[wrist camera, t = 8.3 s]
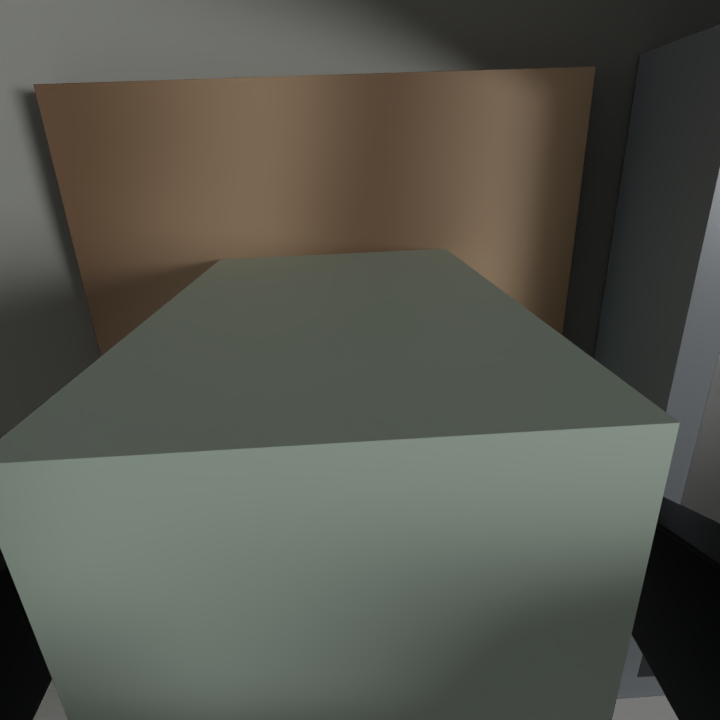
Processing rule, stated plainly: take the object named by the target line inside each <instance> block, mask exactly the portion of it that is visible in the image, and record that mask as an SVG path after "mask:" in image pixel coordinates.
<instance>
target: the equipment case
mask: <svg viewBox="0 0 720 720" xmlns="http://www.w3.org/2000/svg"><path fill="white" fill-rule="evenodd" d="M719 350H720V24H719V25H716V26H713V27H711V28H708V29H705V30H703V31H700V32H697V33H695V34H692V35H689V36H686V37H684V38H681V39H678V40H676V41H673V42H670V43H667V44H665V45H662V46H659V47H657V48H654V49H651V50H649V51H646V52H643V53H640V57H639V64H638V71H637V77H636V84H635V90H634V97H633V103H632V110H631V117H630V123H629V130H628V136H627V143H626V150H625V156H624V163H623V169H622V176H621V182H620V189H619V196H618V202H617V209H616V215H615V222H614V228H613V235H612V242H611V248H610V255H609V261H608V268H607V275H606V281H605V288H604V294H603V301H602V307H601V314H600V321H599V327H598V334H597V340H596V347H595V353H594V359H595V360H596V361H598V362H599V363H600V364H602V365H603V366H604V367H606V368H607V369H608V370H610V371H611V372H612V373H614V374H615V375H616V376H618V377H619V378H620V379H622V380H623V381H624V382H626V383H627V384H628V385H630V386H631V387H633V388H634V389H635V390H637V391H638V392H639V393H641V394H642V395H643V396H645V397H646V398H647V399H649V400H650V401H651V402H653V403H654V404H655V405H657V406H658V407H659V408H661V409H662V410H663V411H665V412H666V413H667V414H669V415H670V416H672V417H673V418H674V419H676V420H677V421H678V422H680V424H679V429H678V433H677V438H676V442H675V446H674V451H673V455H672V459H671V464H670V468H669V472H668V477H667V481H666V486H665V490H664V494H663V497H666V498H668V499H670V500H672V501H674V502H676V503H678V504H681V500H682V496H683V492H684V488H685V484H686V480H687V476H688V472H689V468H690V465H691V461H692V457H693V453H694V449H695V445H696V441H697V437H698V433H699V429H700V425H701V421H702V417H703V413H704V409H705V405H706V401H707V397H708V393H709V389H710V385H711V381H712V377H713V373H714V369H715V365H716V361H717V357H718V354H719ZM663 695H665V694H664V692H663V690H662V689H661V687H660V685H659V683H658V681H657V680H656V678H655V676H654V674H653V672H652V671H651V669H650V667H649V665H648V663H647V662H646V660H645V658H644V656H643V654H642V653H641V651H640V649H639V647H638V645H637V644H636V642H635V640H634V638H633V636H632V635H631V638H630V643H629V647H628V651H627V656H626V660H625V665H624V669H623V673H622V678H621V682H620V686H619V691H618V695H617V699H622V698H636V697H649V696H663Z"/></svg>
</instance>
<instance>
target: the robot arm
mask: <svg viewBox="0 0 720 720" xmlns="http://www.w3.org/2000/svg"><path fill="white" fill-rule="evenodd" d="M631 635H632V636H633V638H634V640H635V642H636V644H637V645H638V647H639V649H640V651H641V653H642V654H643V656H644V658H645V660H646V662H647V663H648V665H649V667H650V669H651V671H652V672H653V674H654V676H655V678H656V680H657V681H658V683H659V685H660V687H661V689H662V690H663V692H664V694H665V696H666V698H667V699H668V701H669V703H670V705H671V707H672V708H673V710H674V712H675V714H676V716H677V717H678V719H679V720H720V523H717V522H715V521H713V520H711V519H709V518H707V517H705V516H703V515H701V514H699V513H697V512H695V511H693V510H690V509H688V508H686V507H684V506H682V505H680V504H678V503H676V502H674V501H672V500H670V499H668V498H666V497H663V499H662V503H661V507H660V512H659V516H658V520H657V525H656V529H655V534H654V538H653V542H652V547H651V551H650V555H649V560H648V564H647V568H646V573H645V577H644V582H643V586H642V590H641V595H640V599H639V603H638V608H637V612H636V616H635V621H634V625H633V630H632V634H631ZM51 680H52V677H51V675H50V672H49V670H48V667H47V665H46V662H45V660H44V657H43V655H42V652H41V649H40V647H39V644H38V642H37V639H36V637H35V634H34V632H33V629H32V627H31V624H30V622H29V619H28V617H27V614H26V612H25V609H24V607H23V604H22V601H21V599H20V596H19V594H18V591H17V589H16V586H15V584H14V581H13V579H12V576H11V574H10V571H9V569H8V566H7V564H6V561H5V559H4V556H3V553H2V551H1V548H0V720H33V718H34V716H35V714H36V712H37V710H38V708H39V705H40V703H41V701H42V699H43V697H44V695H45V693H46V691H47V688H48V686H49V684H50V682H51Z"/></svg>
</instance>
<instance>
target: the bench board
mask: <svg viewBox="0 0 720 720" xmlns="http://www.w3.org/2000/svg"><path fill="white" fill-rule="evenodd" d="M595 69H596V66H595V67H564V68H532V69H501V70H470V71H439V72H407V73H376V74H345V75H313V76H282V77H251V78H219V79H188V80H157V81H126V82H94V83H63V84H33V85H34V89H35V93H36V97H37V101H38V105H39V109H40V113H41V117H42V121H43V125H44V129H45V133H46V137H47V141H48V145H49V149H50V153H51V157H52V162H53V166H54V170H55V174H56V178H57V182H58V186H59V190H60V194H61V198H62V202H63V206H64V210H65V214H66V218H67V222H68V226H69V230H70V234H71V238H72V242H73V246H74V250H75V254H76V258H77V262H78V266H79V270H80V275H81V279H82V283H83V287H84V291H85V295H86V299H87V303H88V307H89V311H90V315H91V319H92V323H93V327H94V331H95V335H96V339H97V343H98V347H99V351H100V355H101V356H102V355H104V354H105V353H106V352H107V351H109V350H110V349H111V348H112V347H113V346H115V345H116V344H117V343H118V342H120V341H121V340H122V339H123V338H124V337H126V336H127V335H128V334H129V333H131V332H132V331H133V330H134V329H136V328H137V327H138V326H139V325H140V324H142V323H143V322H144V321H145V320H147V319H148V318H149V317H150V316H152V315H153V314H154V313H155V312H156V311H158V310H159V309H160V308H161V307H163V306H164V305H165V304H166V303H168V302H169V301H170V300H171V299H172V298H174V297H175V296H176V295H177V294H179V293H180V292H181V291H182V290H183V289H185V288H186V287H187V286H188V285H190V284H191V283H192V282H193V281H195V280H196V279H197V278H198V277H199V276H201V275H202V274H203V273H204V272H206V271H207V270H208V269H209V268H211V267H212V266H213V265H214V264H215V263H217V262H218V261H219V260H220V259H240V258H261V257H281V256H302V255H323V254H344V253H364V252H385V251H406V250H427V249H447V250H448V251H449V252H451V253H452V254H453V255H455V256H456V257H458V258H459V259H460V260H462V261H463V262H464V263H466V264H467V265H468V266H470V267H471V268H472V269H474V270H475V271H476V272H478V273H479V274H480V275H482V276H483V277H484V278H486V279H487V280H488V281H490V282H491V283H493V284H494V285H495V286H497V287H498V288H499V289H501V290H502V291H503V292H505V293H506V294H507V295H509V296H510V297H511V298H513V299H514V300H515V301H517V302H518V303H519V304H521V305H522V306H523V307H525V308H526V309H528V310H529V311H530V312H532V313H533V314H534V315H536V316H537V317H538V318H540V319H541V320H542V321H544V322H545V323H546V324H548V325H549V326H550V327H552V328H553V329H554V330H556V331H557V332H558V333H560V334H561V335H563V327H564V319H565V311H566V303H567V295H568V287H569V279H570V270H571V262H572V254H573V246H574V238H575V230H576V222H577V214H578V206H579V198H580V190H581V182H582V174H583V166H584V158H585V150H586V142H587V134H588V126H589V118H590V110H591V101H592V93H593V85H594V77H595Z"/></svg>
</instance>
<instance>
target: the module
mask: <svg viewBox="0 0 720 720" xmlns="http://www.w3.org/2000/svg"><path fill="white" fill-rule="evenodd" d="M679 424H680V422H678V421H677V420H676V419H674V418H673V417H672V416H670V415H669V414H667V413H666V412H665V411H663V410H662V409H661V408H659V407H658V406H657V405H655V404H654V403H653V402H651V401H650V400H649V399H647V398H646V397H645V396H643V395H642V394H641V393H639V392H638V391H637V390H635V389H634V388H633V387H631V386H630V385H628V384H627V383H626V382H624V381H623V380H622V379H620V378H619V377H618V376H616V375H615V374H614V373H612V372H611V371H610V370H608V369H607V368H606V367H604V366H603V365H602V364H600V363H599V362H598V361H596V360H595V359H593V358H592V357H591V356H589V355H588V354H587V353H585V352H584V351H583V350H581V349H580V348H579V347H577V346H576V345H575V344H573V343H572V342H571V341H569V340H568V339H567V338H565V337H564V336H563V335H561V334H560V333H558V332H557V331H556V330H554V329H553V328H552V327H550V326H549V325H548V324H546V323H545V322H544V321H542V320H541V319H540V318H538V317H537V316H536V315H534V314H533V313H532V312H530V311H529V310H528V309H526V308H525V307H523V306H522V305H521V304H519V303H518V302H517V301H515V300H514V299H513V298H511V297H510V296H509V295H507V294H506V293H505V292H503V291H502V290H501V289H499V288H498V287H497V286H495V285H494V284H493V283H491V282H490V281H488V280H487V279H486V278H484V277H483V276H482V275H480V274H479V273H478V272H476V271H475V270H474V269H472V268H471V267H470V266H468V265H467V264H466V263H464V262H463V261H462V260H460V259H459V258H458V257H456V256H455V255H453V254H452V253H451V252H449V251H448V250H447V249H427V250H406V251H385V252H364V253H344V254H323V255H302V256H281V257H261V258H240V259H220V260H219V261H218V262H217V263H215V264H214V265H213V266H212V267H211V268H209V269H208V270H207V271H206V272H204V273H203V274H202V275H201V276H199V277H198V278H197V279H196V280H195V281H193V282H192V283H191V284H190V285H188V286H187V287H186V288H185V289H183V290H182V291H181V292H180V293H179V294H177V295H176V296H175V297H174V298H172V299H171V300H170V301H169V302H168V303H166V304H165V305H164V306H163V307H161V308H160V309H159V310H158V311H156V312H155V313H154V314H153V315H152V316H150V317H149V318H148V319H147V320H145V321H144V322H143V323H142V324H140V325H139V326H138V327H137V328H136V329H134V330H133V331H132V332H131V333H129V334H128V335H127V336H126V337H124V338H123V339H122V340H121V341H120V342H118V343H117V344H116V345H115V346H113V347H112V348H111V349H110V350H109V351H107V352H106V353H105V354H104V355H102V356H101V357H100V358H99V359H97V360H96V361H95V362H94V363H93V364H91V365H90V366H89V367H88V368H86V369H85V370H84V371H83V372H81V373H80V374H79V375H78V376H77V377H75V378H74V379H73V380H72V381H70V382H69V383H68V384H67V385H65V386H64V387H63V388H62V389H61V390H59V391H58V392H57V393H56V394H54V395H53V396H52V397H51V398H50V399H48V400H47V401H46V402H45V403H43V404H42V405H41V406H40V407H38V408H37V409H36V410H35V411H34V412H32V413H31V414H30V415H29V416H27V417H26V418H25V419H24V420H22V421H21V422H20V423H19V424H18V425H16V426H15V427H14V428H13V429H11V430H10V431H9V432H8V433H6V434H5V435H4V436H3V437H2V438H0V548H1V551H2V553H3V556H4V559H5V561H6V564H7V566H8V569H9V571H10V574H11V576H12V579H13V581H14V584H15V586H16V589H17V591H18V594H19V596H20V599H21V601H22V604H23V607H24V609H25V612H26V614H27V617H28V619H29V622H30V624H31V627H32V629H33V632H34V634H35V637H36V639H37V642H38V644H39V647H40V649H41V652H42V655H43V657H44V660H45V662H46V665H47V667H48V670H49V672H50V675H51V677H52V680H53V682H54V685H55V687H56V690H57V692H58V695H59V697H60V700H61V703H62V705H63V708H64V710H65V713H66V715H67V718H68V720H612V717H613V713H614V708H615V704H616V699H617V695H618V691H619V686H620V682H621V678H622V673H623V669H624V665H625V660H626V656H627V651H628V647H629V643H630V638H631V634H632V630H633V625H634V621H635V616H636V612H637V608H638V603H639V599H640V595H641V590H642V586H643V582H644V577H645V573H646V568H647V564H648V560H649V555H650V551H651V547H652V542H653V538H654V534H655V529H656V525H657V520H658V516H659V512H660V507H661V503H662V499H663V494H664V490H665V486H666V481H667V477H668V472H669V468H670V464H671V459H672V455H673V451H674V446H675V442H676V438H677V433H678V429H679Z"/></svg>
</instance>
